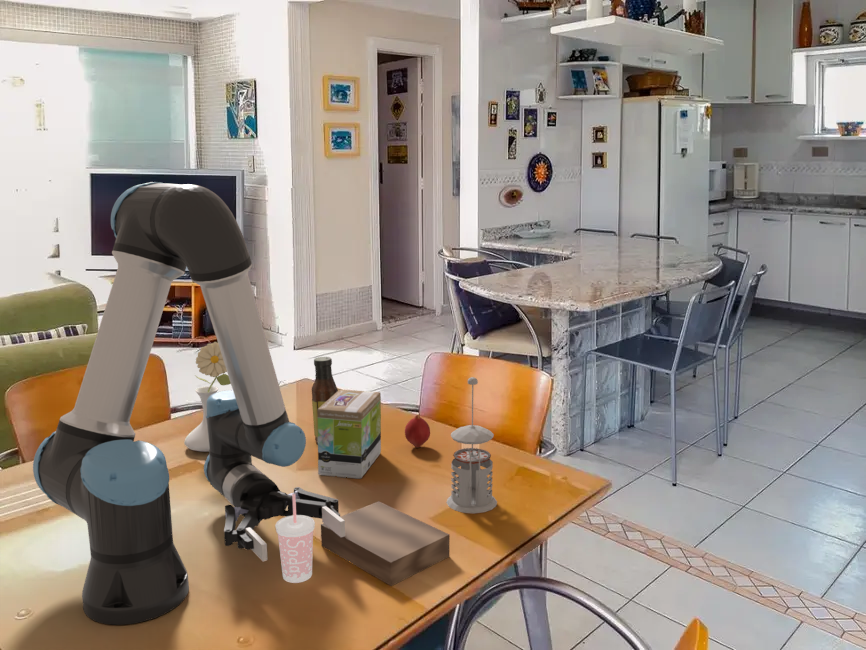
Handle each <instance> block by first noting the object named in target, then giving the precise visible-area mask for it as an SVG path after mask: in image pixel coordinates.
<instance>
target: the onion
mask: <svg viewBox="0 0 866 650" xmlns="http://www.w3.org/2000/svg"><path fill="white" fill-rule="evenodd" d="M430 436H431V428H430V425H429V423H428V422H427V421H426V420H425V419H424V418H422V417H421V415H420V414H418V413H417V414H415V416H414V417H412V418H411V419H410V420H408V422H407V423H406V424H405V427H404V437H405V439H406V440H407V442H409V443H410V444H411V445H412V446H414V448H417V449H418V448H421V447H422V446H423V445H424V444H425V443H426V442H427V441H428V440H429V439H430Z"/></svg>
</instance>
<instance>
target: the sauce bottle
mask: <svg viewBox="0 0 866 650" xmlns="http://www.w3.org/2000/svg"><path fill="white" fill-rule="evenodd" d="M332 364H333V360H332V358H331V357H329V356H320V357H316V358H314V359H313V365H314V369H315V370H314V372H315V379H314V381H313V384H312V386H311V398H312V399H311V403H312V404H311V406H312V408H311V409H312V417H313V418H312V419H313V421H312V422H313V432H314V440H315V442H316V443H318V408H319V407H321V406H322V405H323V404H324V403H325V402H326V401H327V400H328V399H330V398H331V397H332V396H333V395H334V394H335V393H336V392H337V391H338V390H339V389H338V386H337V385H336V382H335V380H334V377H333V371H332Z"/></svg>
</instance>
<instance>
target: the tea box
mask: <svg viewBox="0 0 866 650" xmlns="http://www.w3.org/2000/svg"><path fill="white" fill-rule="evenodd" d="M381 395H382V394H381V392H380V391H368V390H366V391H365V390H354V389H353V390H351V389H338V391H337V392H336V393H335V394H334V395H333V396H332V397H331V398H330V399H328V400H327V401H326V402H325V403H324V404H323V405H322V406H321V407H319V408H318V442H317V469H318V470H317V475H318V476H324V477H325V476H328V477H335V476H337V478H346V477H347V478H349V479H362V478H363V476H364V475H365V474H366V473H367V471H368V470H369V469H370V468H371V466H372V465H373V464H374V463H375V461H376V459H377V458H378V457H379V456H380V454H381V452H382V445H381V444H382V431H381V430H382V424H381V423H382V414H381V413H382V412H381V411H382V408H381V407H382V405H381V404H382V400H381V399H382V398H381ZM347 478H346V479H347Z"/></svg>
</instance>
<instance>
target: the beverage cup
mask: <svg viewBox="0 0 866 650" xmlns="http://www.w3.org/2000/svg"><path fill="white" fill-rule="evenodd" d="M292 493H293V494H292V500H293V515H292V516H287V517H286V516H283V517H282V518H280V519H279V520H277V521H276V522H275V527H274V528H275V531H276V534H277V538H278V545H279V555H280V562H281V563H280V565H281V572H282V574H281V575H282V578H283V580H284V581H286V582H288V583H291V584H292V583H293V584H298V583H299V584H300V583H304V582H305V581H308V580H309V579H311V577H312V575H313V555H314V554H313V550H314V547H313V546H314V530H315V527H316V526H315V524H316V523H315V520H314V518H313V517H309V516H305V515H296V498H295V493H294V492H292Z"/></svg>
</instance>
